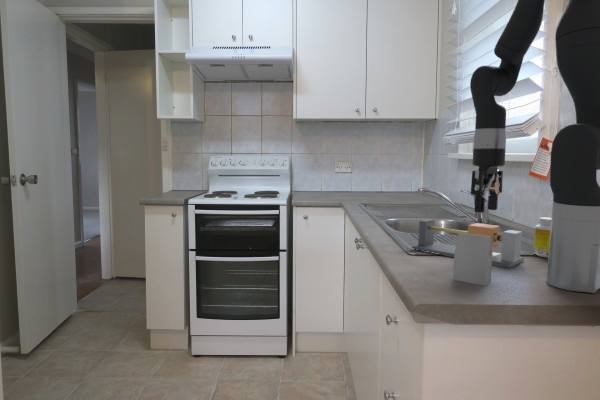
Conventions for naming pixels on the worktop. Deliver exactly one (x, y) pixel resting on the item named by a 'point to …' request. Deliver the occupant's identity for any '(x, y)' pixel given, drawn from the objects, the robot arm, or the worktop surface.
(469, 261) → the grey tapered slab
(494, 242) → the sleeve
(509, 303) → the worktop surface
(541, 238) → the supplement bottle
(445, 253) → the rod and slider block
